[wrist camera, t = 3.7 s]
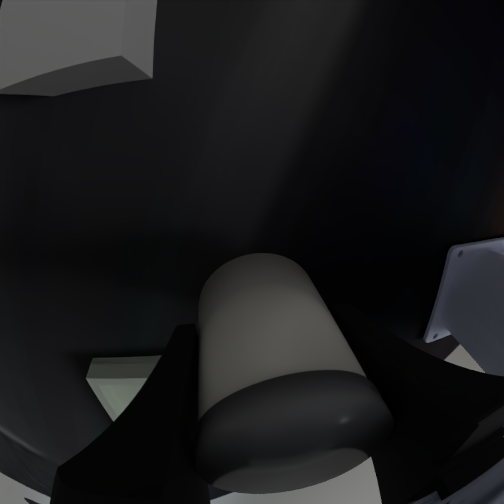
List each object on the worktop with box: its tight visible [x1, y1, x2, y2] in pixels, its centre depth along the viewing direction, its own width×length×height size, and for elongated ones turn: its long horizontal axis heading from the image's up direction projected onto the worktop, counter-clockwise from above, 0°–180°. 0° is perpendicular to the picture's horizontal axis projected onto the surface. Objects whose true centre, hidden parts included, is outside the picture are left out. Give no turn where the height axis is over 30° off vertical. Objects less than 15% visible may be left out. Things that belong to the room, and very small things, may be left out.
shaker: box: [195, 253, 394, 494], centre depth 9 cm, size 5×5×7 cm
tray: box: [86, 355, 161, 422], centre depth 18 cm, size 12×12×2 cm
